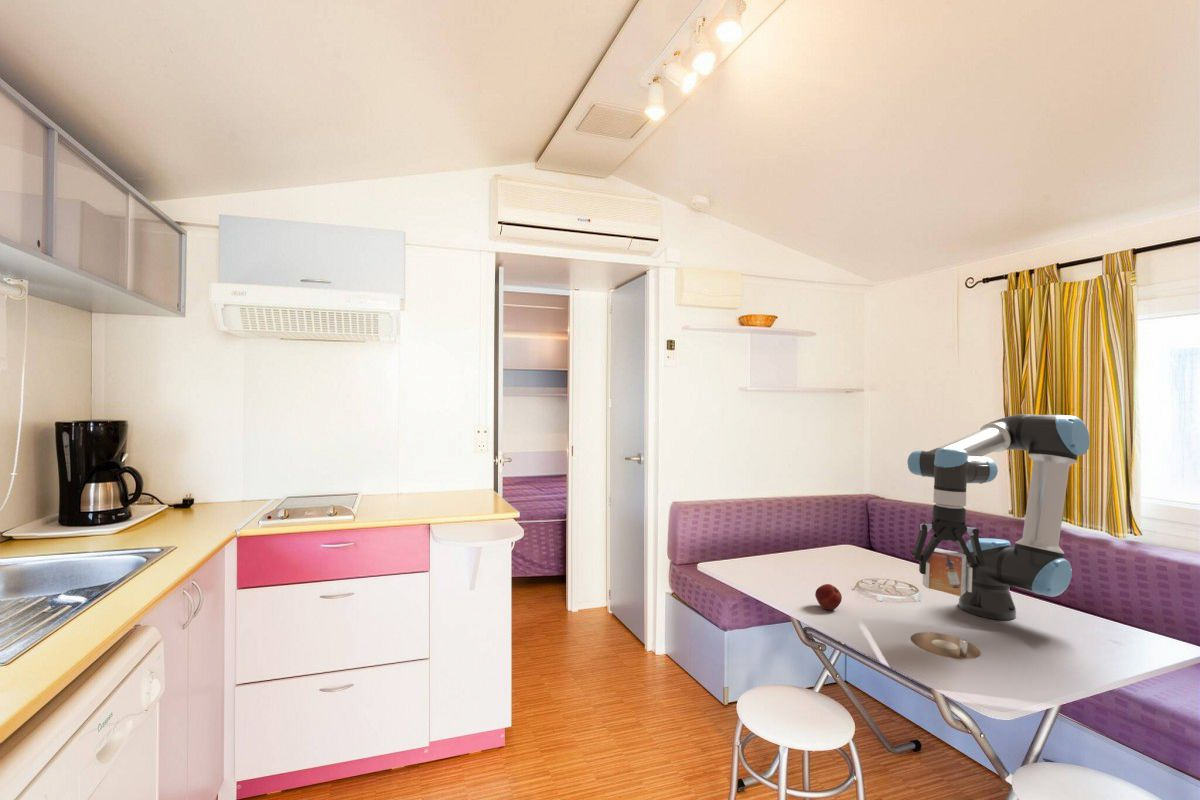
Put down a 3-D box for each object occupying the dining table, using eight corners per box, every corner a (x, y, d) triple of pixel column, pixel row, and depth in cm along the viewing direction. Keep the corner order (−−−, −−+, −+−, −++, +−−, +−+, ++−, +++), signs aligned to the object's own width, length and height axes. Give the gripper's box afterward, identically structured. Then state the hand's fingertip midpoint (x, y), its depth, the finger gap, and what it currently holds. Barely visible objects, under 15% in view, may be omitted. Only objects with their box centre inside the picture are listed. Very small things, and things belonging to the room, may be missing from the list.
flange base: (966, 641, 153) (966, 635, 153) (992, 668, 138) (992, 662, 138) (903, 634, 157) (903, 629, 157) (921, 660, 142) (921, 653, 142)
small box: (926, 588, 149) (928, 550, 150) (933, 584, 153) (934, 547, 153) (961, 596, 144) (962, 556, 144) (966, 592, 148) (967, 553, 148)
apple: (833, 615, 171) (833, 589, 171) (810, 607, 177) (810, 583, 177) (845, 610, 175) (845, 585, 175) (822, 602, 181) (822, 578, 182)
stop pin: (965, 655, 142) (965, 639, 142) (968, 658, 140) (968, 642, 140) (958, 654, 142) (958, 639, 142) (961, 657, 140) (961, 641, 140)
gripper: (989, 506, 150) (987, 588, 149) (900, 500, 155) (897, 579, 155) (1002, 511, 142) (1000, 597, 142) (908, 504, 148) (905, 587, 148)
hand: (946, 588), depth 149 cm, fingers closed on small box, 9 cm apart
